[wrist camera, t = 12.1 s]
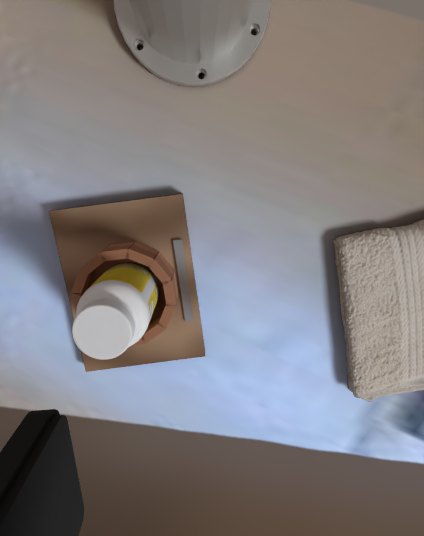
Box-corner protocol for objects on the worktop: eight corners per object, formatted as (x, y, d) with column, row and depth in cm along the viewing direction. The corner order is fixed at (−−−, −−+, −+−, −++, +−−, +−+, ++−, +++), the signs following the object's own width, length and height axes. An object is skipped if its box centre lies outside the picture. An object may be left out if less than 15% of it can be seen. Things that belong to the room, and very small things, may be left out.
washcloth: (346, 394, 40) (358, 411, 37) (326, 234, 35) (338, 239, 32) (453, 372, 40) (474, 388, 37) (446, 210, 35) (469, 212, 32)
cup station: (54, 210, 34) (31, 214, 29) (182, 193, 34) (180, 195, 29) (89, 365, 37) (74, 391, 33) (205, 350, 37) (205, 374, 33)
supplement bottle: (90, 275, 33) (44, 314, 24) (143, 250, 33) (119, 279, 23) (118, 325, 34) (86, 381, 25) (170, 301, 34) (157, 350, 24)
